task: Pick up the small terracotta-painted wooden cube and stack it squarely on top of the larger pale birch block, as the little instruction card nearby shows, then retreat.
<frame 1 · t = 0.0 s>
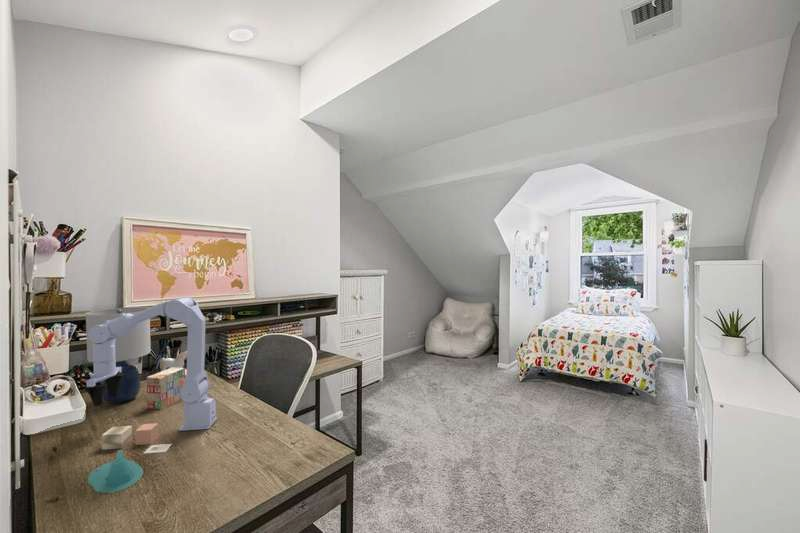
hand: (105, 400, 123), 10 cm above the table, tool pointing down, fingers open, 7 cm apart
birch base block: (117, 444, 114), on the table
instruction card: (158, 449, 111), on the table
terracotta cube: (147, 440, 116), on the table
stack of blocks: (176, 398, 151), on the table
lamp: (121, 400, 149), on the table
teal plastic funnel: (115, 476, 98), on the table
unicorn figurine: (180, 377, 178), on the table
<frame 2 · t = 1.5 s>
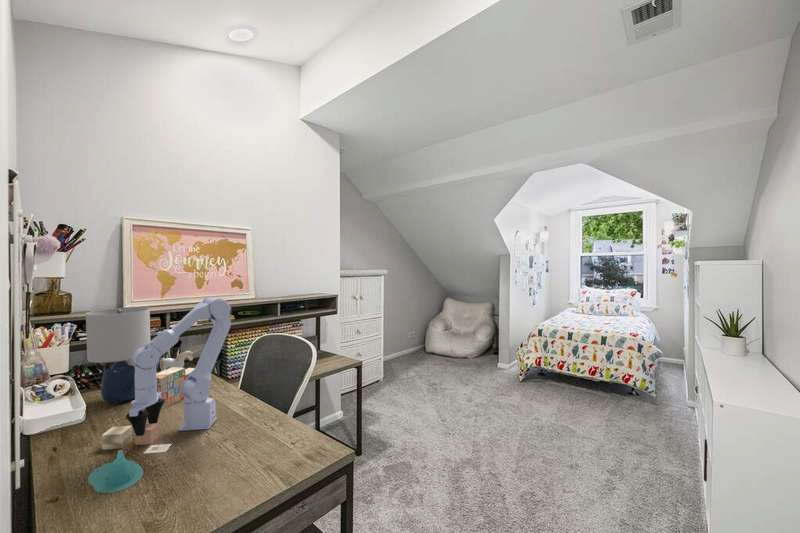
hand: (146, 429, 116), 4 cm above the table, tool pointing down, fingers open, 7 cm apart
nothing on the table moved.
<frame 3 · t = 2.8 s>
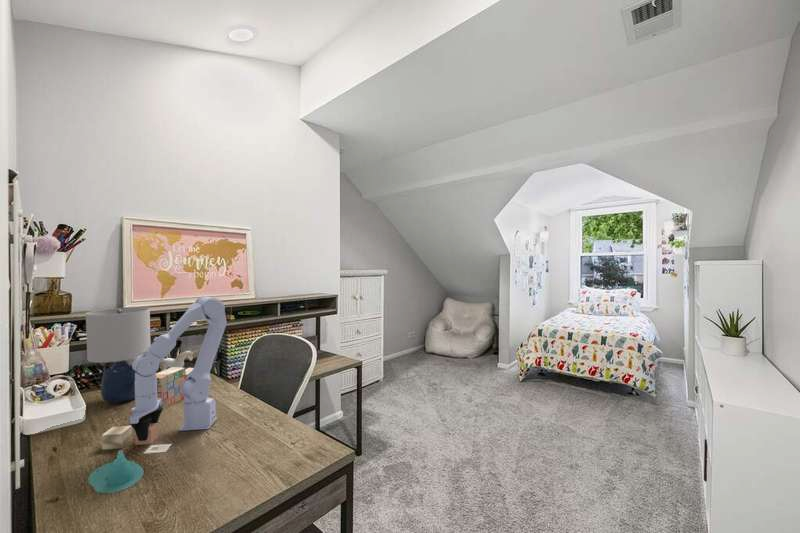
hand: (147, 436, 116), 1 cm above the table, tool pointing down, fingers closed on terracotta cube, 4 cm apart
terracotta cube: (147, 440, 116), on the table, touching gripper
everything else where it was.
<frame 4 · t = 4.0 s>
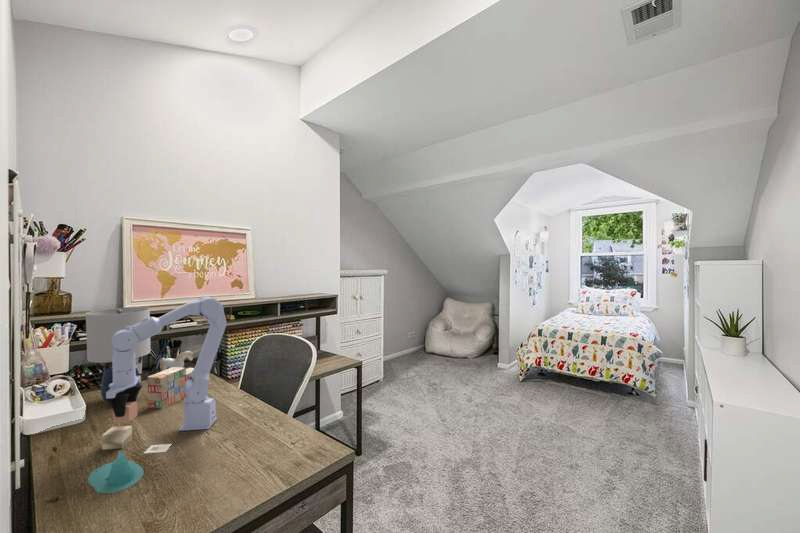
hand: (124, 412, 115), 10 cm above the table, tool pointing down, fingers closed on terracotta cube, 4 cm apart
terracotta cube: (125, 419, 115), point 8 cm above the table, touching gripper
everything else where it was.
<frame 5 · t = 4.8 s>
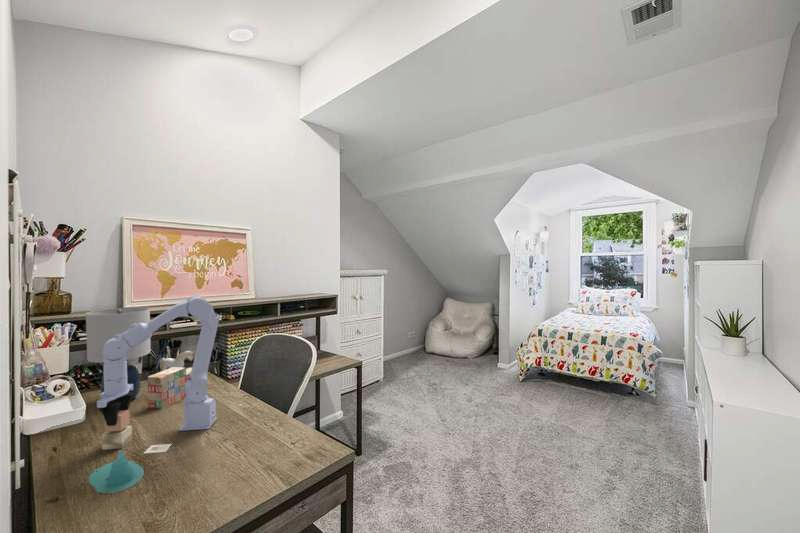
hand: (117, 421, 114), 7 cm above the table, tool pointing down, fingers closed on terracotta cube, 4 cm apart
terracotta cube: (117, 427, 114), point 5 cm above the table, touching gripper
everything else where it was.
when the fingers open (7 cm above the table, at t = 5.4 s): terracotta cube stays where it is, resting on birch base block.
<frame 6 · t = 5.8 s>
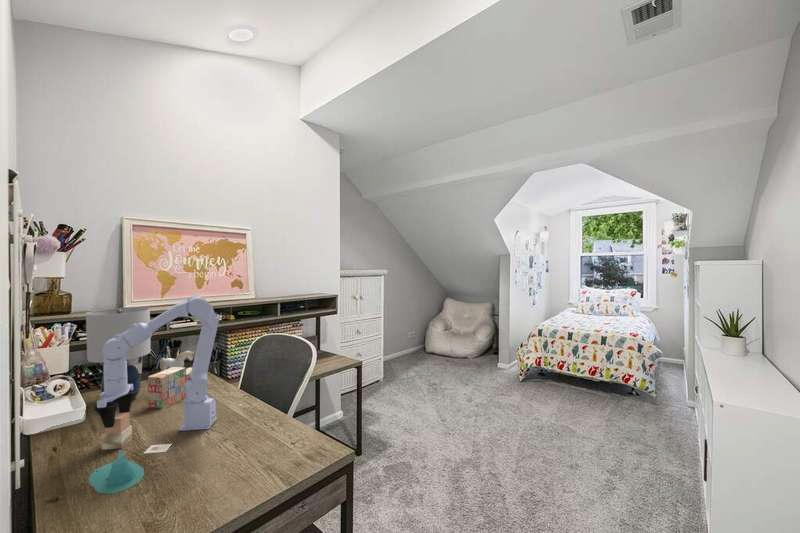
hand: (117, 421, 114), 7 cm above the table, tool pointing down, fingers open, 7 cm apart
birch base block: (117, 444, 114), on the table, touching terracotta cube
terracotta cube: (117, 430, 114), point 4 cm above the table, touching birch base block
everything else where it was.
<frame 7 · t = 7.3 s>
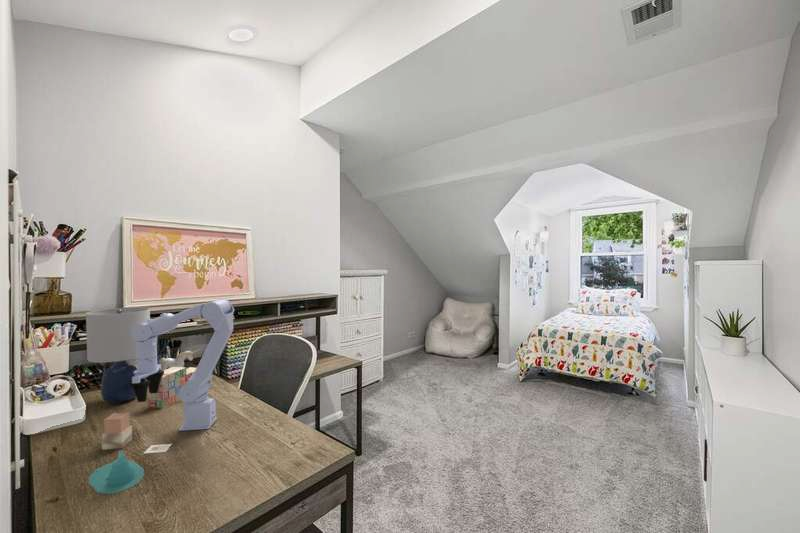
hand: (148, 397, 126), 10 cm above the table, tool pointing down, fingers open, 7 cm apart
nothing on the table moved.
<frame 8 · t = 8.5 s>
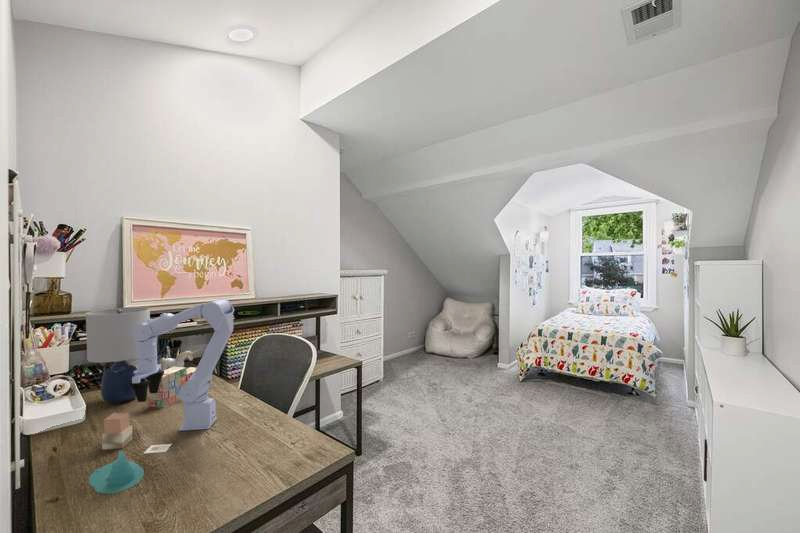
hand: (148, 397, 126), 10 cm above the table, tool pointing down, fingers open, 7 cm apart
at the end: terracotta cube 0.1 cm off-centre on the birch base block, point 4.5 cm above the birch base block's base; terracotta cube tilted 0°; the gripper is holding nothing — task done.
